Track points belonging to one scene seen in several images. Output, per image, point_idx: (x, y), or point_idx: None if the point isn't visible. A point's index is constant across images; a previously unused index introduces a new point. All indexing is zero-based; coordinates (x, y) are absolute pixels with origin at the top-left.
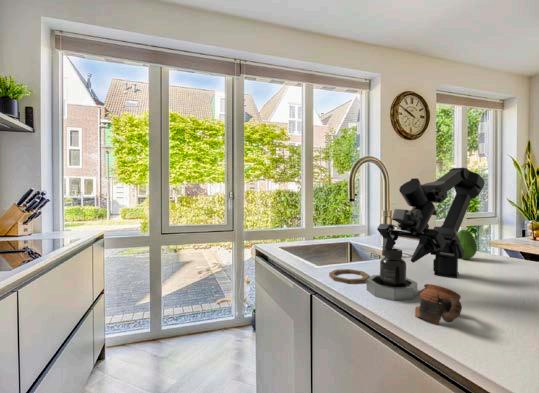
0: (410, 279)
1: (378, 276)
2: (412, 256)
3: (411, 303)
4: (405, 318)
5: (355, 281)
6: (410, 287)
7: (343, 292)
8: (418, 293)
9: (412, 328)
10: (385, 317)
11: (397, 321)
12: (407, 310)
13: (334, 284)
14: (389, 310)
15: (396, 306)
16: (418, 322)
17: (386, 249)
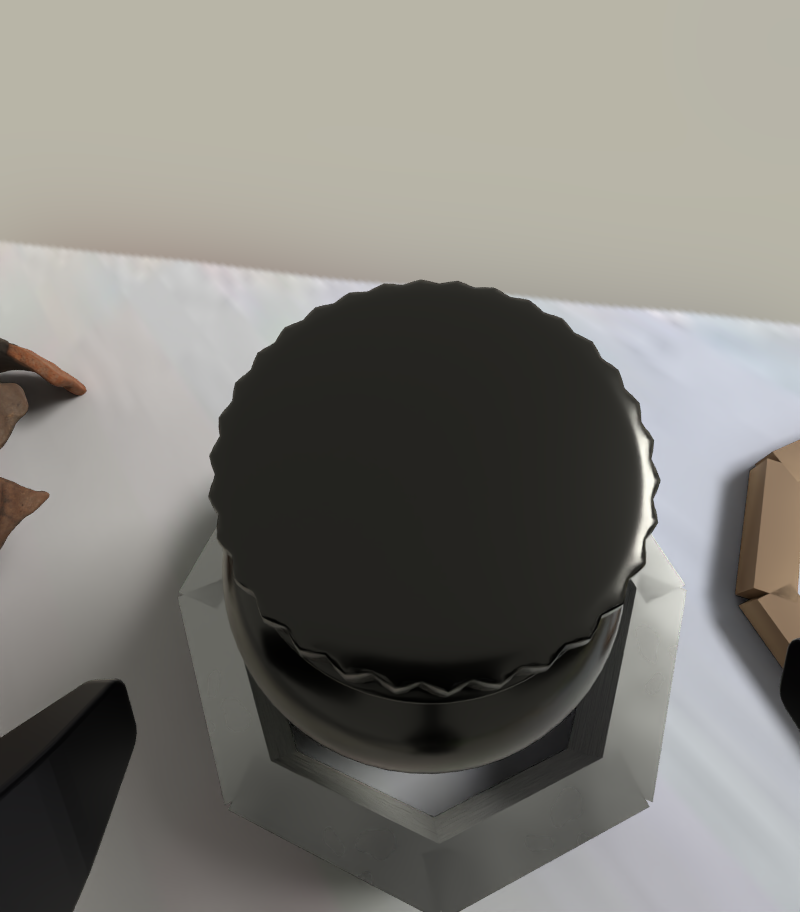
0: (354, 871)
1: (628, 617)
2: (54, 734)
3: (185, 528)
4: (110, 325)
5: (752, 513)
6: (201, 583)
7: (577, 315)
8: (12, 384)
9: (42, 275)
10: (186, 265)
11: (124, 275)
12: (149, 412)
13: (757, 364)
14: (220, 335)
15: (225, 407)
16: (42, 339)
17: (516, 335)
